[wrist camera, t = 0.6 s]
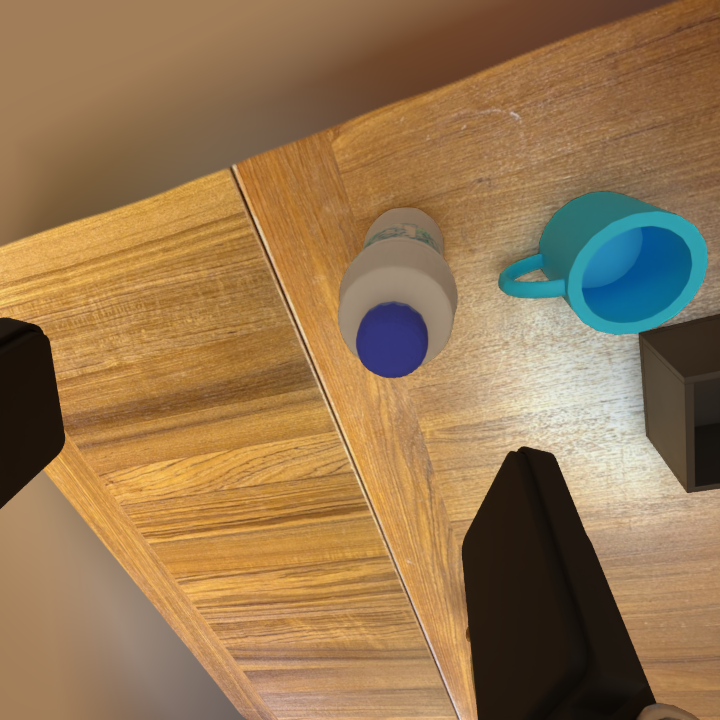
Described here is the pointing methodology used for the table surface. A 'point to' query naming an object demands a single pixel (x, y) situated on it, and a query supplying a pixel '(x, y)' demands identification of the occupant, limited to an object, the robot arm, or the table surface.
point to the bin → (684, 399)
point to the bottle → (398, 295)
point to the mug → (615, 263)
